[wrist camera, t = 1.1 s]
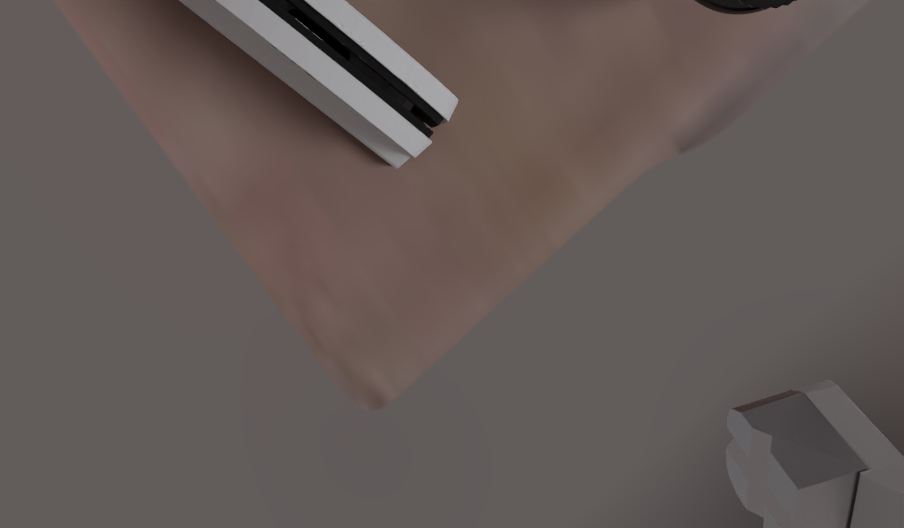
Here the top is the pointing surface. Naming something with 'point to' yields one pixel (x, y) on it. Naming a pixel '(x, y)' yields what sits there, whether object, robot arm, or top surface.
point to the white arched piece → (339, 69)
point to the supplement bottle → (742, 5)
